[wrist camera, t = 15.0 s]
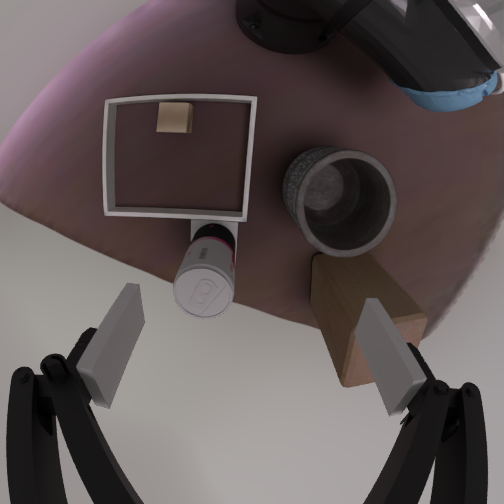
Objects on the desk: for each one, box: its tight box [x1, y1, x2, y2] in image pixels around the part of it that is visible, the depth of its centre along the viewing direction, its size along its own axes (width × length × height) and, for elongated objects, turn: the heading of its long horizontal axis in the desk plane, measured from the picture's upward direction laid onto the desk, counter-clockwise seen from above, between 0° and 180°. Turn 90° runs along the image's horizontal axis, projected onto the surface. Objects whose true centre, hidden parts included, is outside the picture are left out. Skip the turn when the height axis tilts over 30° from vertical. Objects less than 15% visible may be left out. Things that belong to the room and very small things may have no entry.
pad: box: [191, 219, 238, 261], centre depth 43 cm, size 7×7×1 cm
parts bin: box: [103, 94, 257, 222], centre depth 36 cm, size 17×21×3 cm
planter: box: [283, 146, 397, 258], centre depth 34 cm, size 12×12×13 cm
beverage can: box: [173, 223, 236, 319], centre depth 35 cm, size 6×6×15 cm
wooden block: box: [310, 252, 427, 388], centre depth 37 cm, size 10×10×20 cm
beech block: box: [157, 102, 194, 133], centre depth 34 cm, size 4×4×4 cm
